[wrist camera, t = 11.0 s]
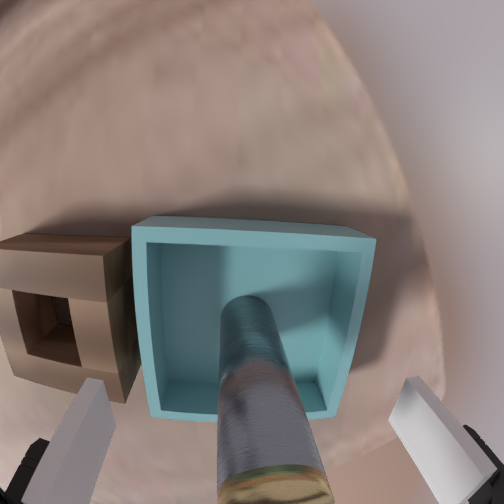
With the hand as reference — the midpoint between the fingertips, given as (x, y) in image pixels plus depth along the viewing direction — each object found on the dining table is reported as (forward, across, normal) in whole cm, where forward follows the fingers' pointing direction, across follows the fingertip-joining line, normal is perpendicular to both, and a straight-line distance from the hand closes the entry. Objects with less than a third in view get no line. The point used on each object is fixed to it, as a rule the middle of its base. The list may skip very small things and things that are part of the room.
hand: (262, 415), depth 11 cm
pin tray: (+10, 0, 0) cm, 10 cm away
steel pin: (+9, 0, 0) cm, 9 cm away
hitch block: (+10, -13, 0) cm, 16 cm away
